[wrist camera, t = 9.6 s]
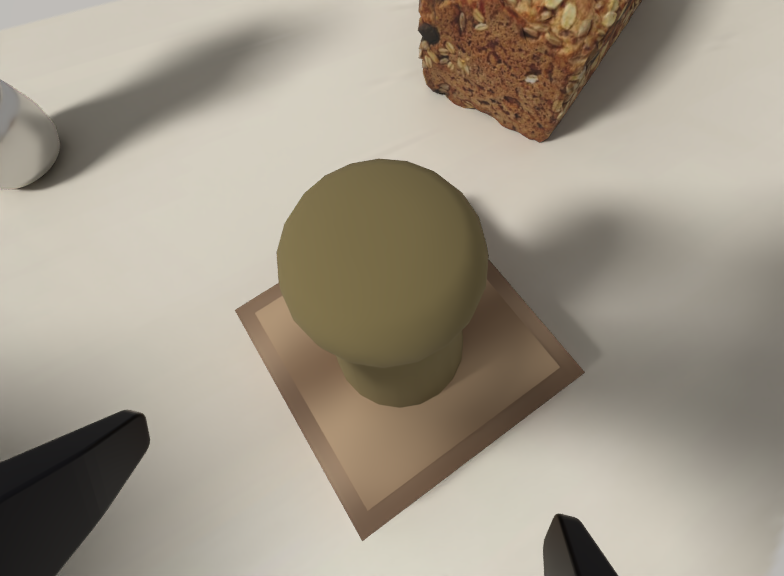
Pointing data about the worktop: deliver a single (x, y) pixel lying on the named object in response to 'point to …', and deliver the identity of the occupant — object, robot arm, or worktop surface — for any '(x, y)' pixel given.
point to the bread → (517, 54)
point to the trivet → (418, 422)
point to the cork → (385, 276)
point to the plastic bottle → (24, 139)
